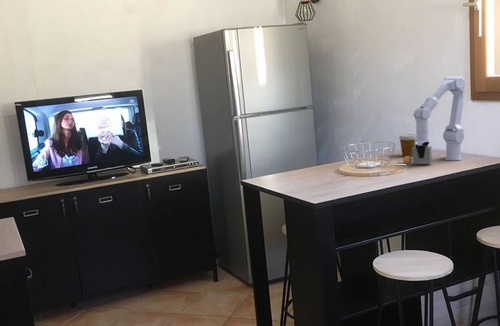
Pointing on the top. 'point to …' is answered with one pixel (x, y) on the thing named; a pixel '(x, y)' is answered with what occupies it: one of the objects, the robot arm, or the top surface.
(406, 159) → the ball
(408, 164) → the tape square
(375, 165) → the top surface
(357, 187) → the top surface
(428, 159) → the grey block
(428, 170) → the top surface
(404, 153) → the disposable coffee cup
